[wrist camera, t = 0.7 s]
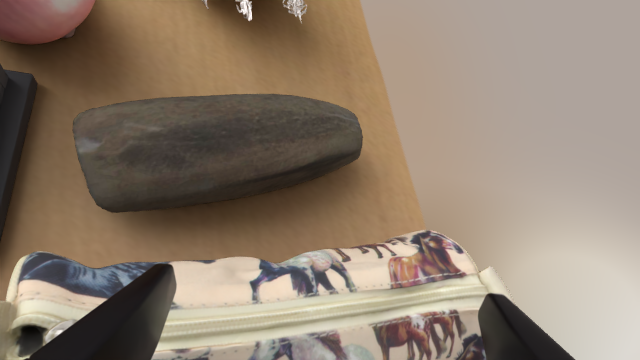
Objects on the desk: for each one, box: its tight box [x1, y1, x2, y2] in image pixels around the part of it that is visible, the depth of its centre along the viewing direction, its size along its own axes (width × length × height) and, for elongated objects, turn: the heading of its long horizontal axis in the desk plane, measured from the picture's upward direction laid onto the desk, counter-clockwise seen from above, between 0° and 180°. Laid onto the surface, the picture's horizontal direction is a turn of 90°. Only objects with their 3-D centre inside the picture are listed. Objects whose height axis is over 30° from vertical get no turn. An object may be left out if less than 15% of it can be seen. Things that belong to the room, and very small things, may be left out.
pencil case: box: [0, 230, 516, 360], centre depth 16 cm, size 22×8×10 cm, turn 97°
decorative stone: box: [73, 94, 363, 213], centre depth 22 cm, size 17×6×4 cm, turn 106°
